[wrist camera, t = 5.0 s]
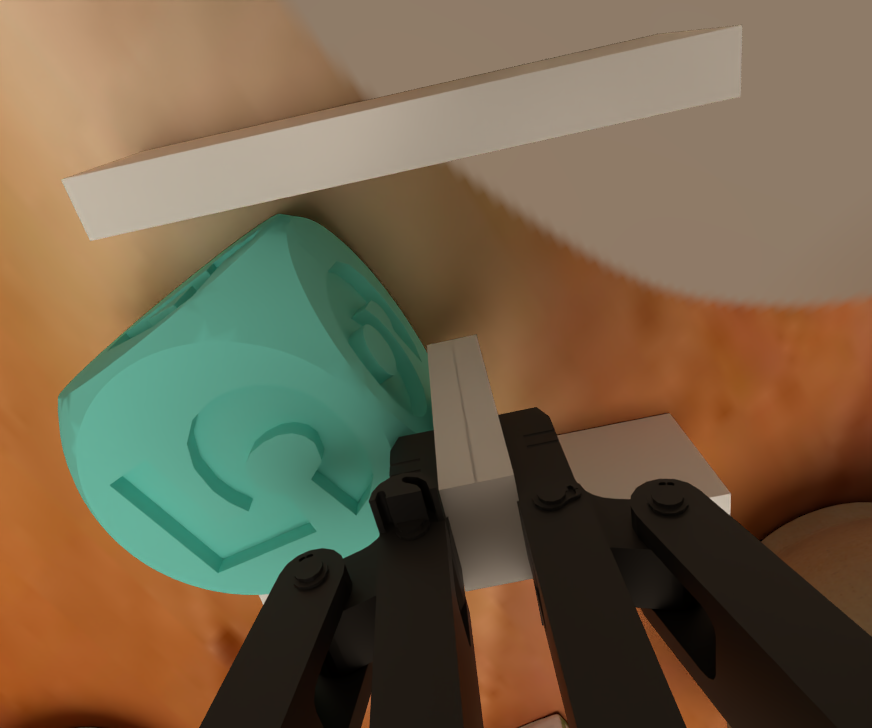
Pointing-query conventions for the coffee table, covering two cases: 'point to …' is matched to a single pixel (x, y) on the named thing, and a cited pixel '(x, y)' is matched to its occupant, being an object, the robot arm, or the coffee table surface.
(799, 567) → the planter bowl
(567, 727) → the syrup box
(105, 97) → the coffee table surface
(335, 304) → the decorative dice
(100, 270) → the coffee table surface
